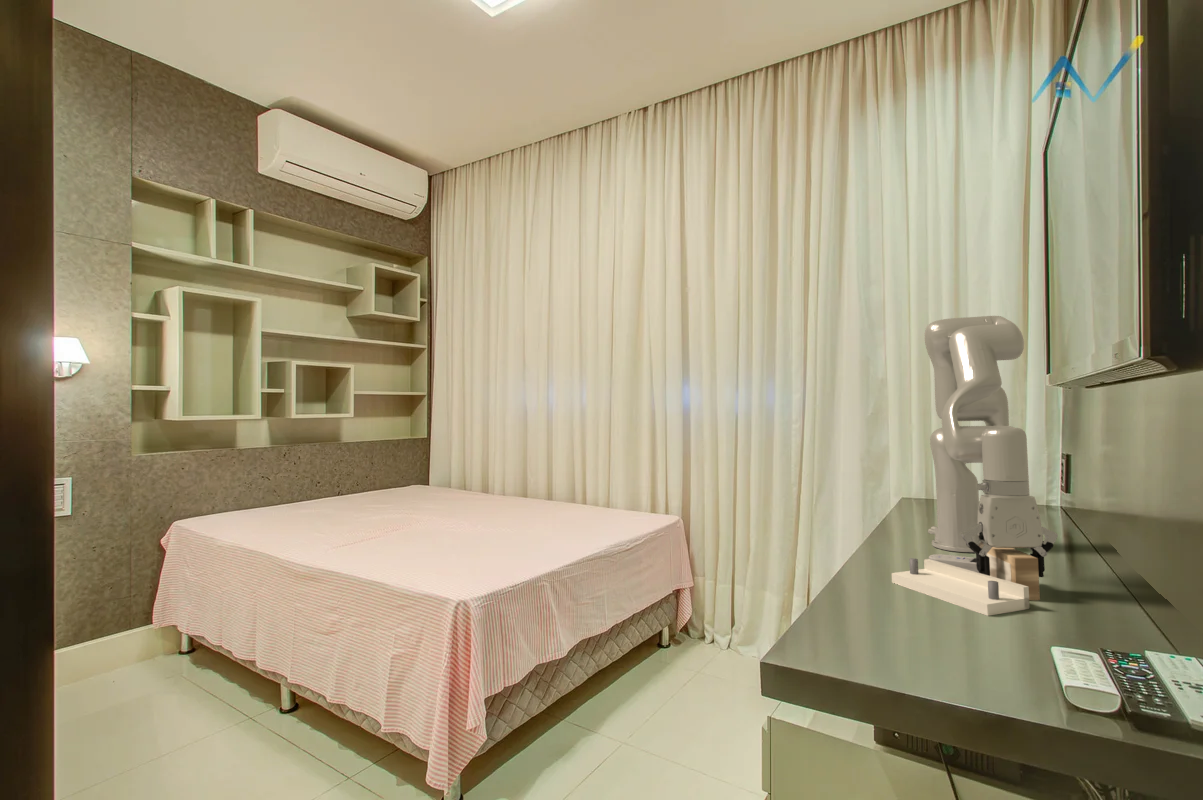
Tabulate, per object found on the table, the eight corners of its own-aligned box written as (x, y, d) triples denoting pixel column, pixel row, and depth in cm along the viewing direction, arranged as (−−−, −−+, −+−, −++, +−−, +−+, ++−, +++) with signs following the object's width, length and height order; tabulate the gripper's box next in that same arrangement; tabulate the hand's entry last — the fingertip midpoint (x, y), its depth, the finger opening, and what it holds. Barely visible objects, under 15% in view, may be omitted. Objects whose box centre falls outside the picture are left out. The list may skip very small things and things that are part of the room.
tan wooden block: (984, 582, 123) (982, 544, 123) (1005, 582, 122) (1003, 544, 123) (1016, 600, 111) (1014, 558, 111) (1039, 600, 111) (1037, 558, 111)
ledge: (892, 582, 124) (891, 559, 124) (929, 577, 127) (928, 554, 127) (987, 615, 103) (986, 587, 103) (1029, 608, 106) (1028, 581, 106)
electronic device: (930, 523, 140) (1004, 528, 129) (933, 564, 140) (1008, 572, 129) (923, 526, 136) (999, 532, 126) (926, 569, 136) (1003, 578, 125)
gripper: (968, 491, 115) (973, 579, 114) (1065, 491, 112) (1070, 580, 112) (951, 487, 122) (955, 570, 121) (1041, 486, 120) (1046, 570, 119)
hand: (1010, 575), depth 117 cm, fingers open, 9 cm apart
